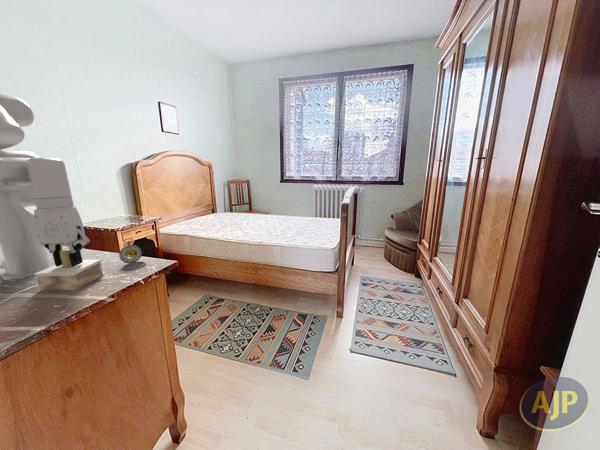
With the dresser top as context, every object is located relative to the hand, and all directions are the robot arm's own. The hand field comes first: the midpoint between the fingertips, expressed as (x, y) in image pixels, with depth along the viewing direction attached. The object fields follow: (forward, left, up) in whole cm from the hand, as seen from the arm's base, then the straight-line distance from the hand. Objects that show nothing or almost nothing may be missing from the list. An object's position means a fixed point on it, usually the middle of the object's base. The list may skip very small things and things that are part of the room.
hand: (69, 263), depth 73 cm
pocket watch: (+10, +13, -7) cm, 18 cm away
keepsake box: (0, 0, -6) cm, 6 cm away
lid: (0, 0, -1) cm, 1 cm away
